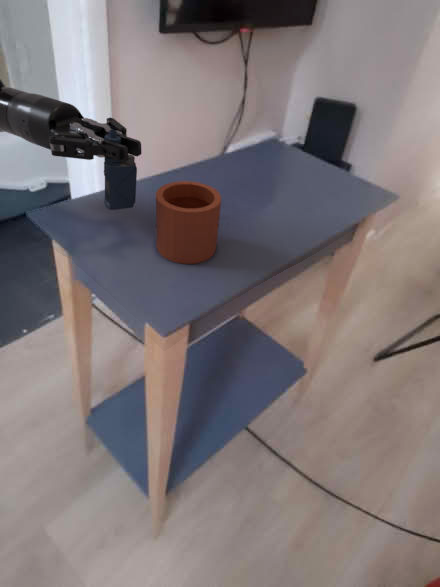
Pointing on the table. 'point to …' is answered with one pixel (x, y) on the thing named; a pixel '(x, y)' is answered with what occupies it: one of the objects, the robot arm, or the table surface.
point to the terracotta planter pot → (187, 221)
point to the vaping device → (119, 179)
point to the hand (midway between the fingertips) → (133, 151)
